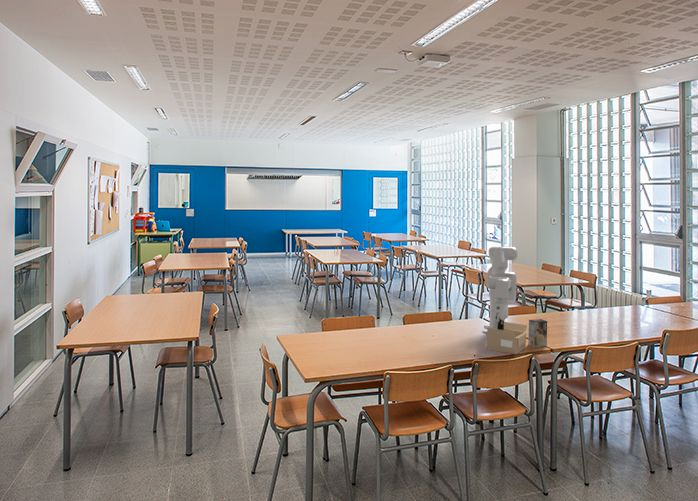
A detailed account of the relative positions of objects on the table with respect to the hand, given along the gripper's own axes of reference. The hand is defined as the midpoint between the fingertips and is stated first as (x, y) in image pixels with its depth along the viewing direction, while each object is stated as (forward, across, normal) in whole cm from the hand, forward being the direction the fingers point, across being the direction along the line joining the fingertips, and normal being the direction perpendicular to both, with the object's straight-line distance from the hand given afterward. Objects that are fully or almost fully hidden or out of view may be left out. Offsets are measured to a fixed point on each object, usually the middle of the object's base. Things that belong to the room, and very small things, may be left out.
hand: (500, 330), depth 295 cm
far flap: (+2, +21, 0) cm, 21 cm away
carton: (+13, +11, 0) cm, 17 cm away
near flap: (+1, +1, 0) cm, 1 cm away
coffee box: (+14, +28, -13) cm, 34 cm away
